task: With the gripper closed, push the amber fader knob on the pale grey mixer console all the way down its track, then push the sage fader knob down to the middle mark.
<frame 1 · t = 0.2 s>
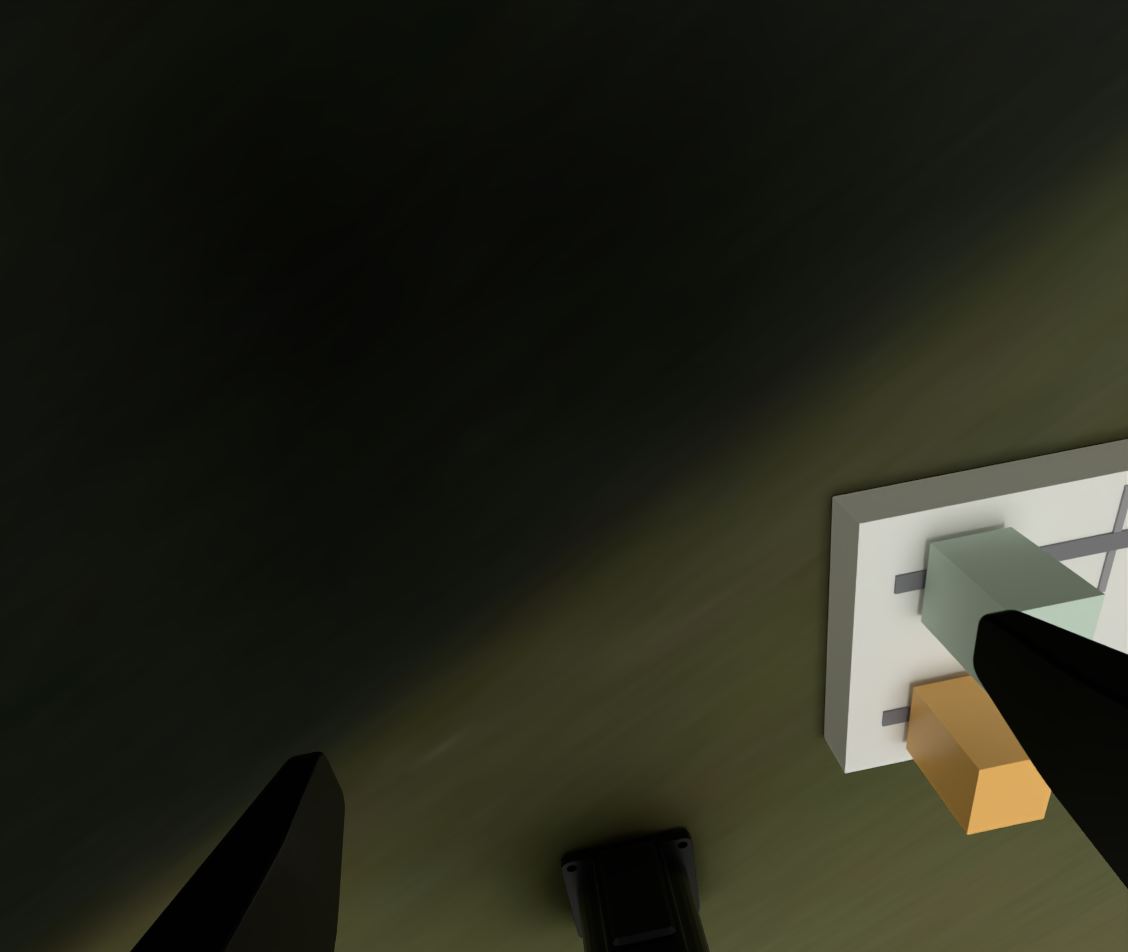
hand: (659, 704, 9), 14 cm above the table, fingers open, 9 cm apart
amber fader: (976, 750, 26), point 4 cm above the table, slide at 6.0 cm
sage fader: (1002, 609, 23), point 4 cm above the table, slide at 6.0 cm
mixer console: (1055, 583, 28), on the table
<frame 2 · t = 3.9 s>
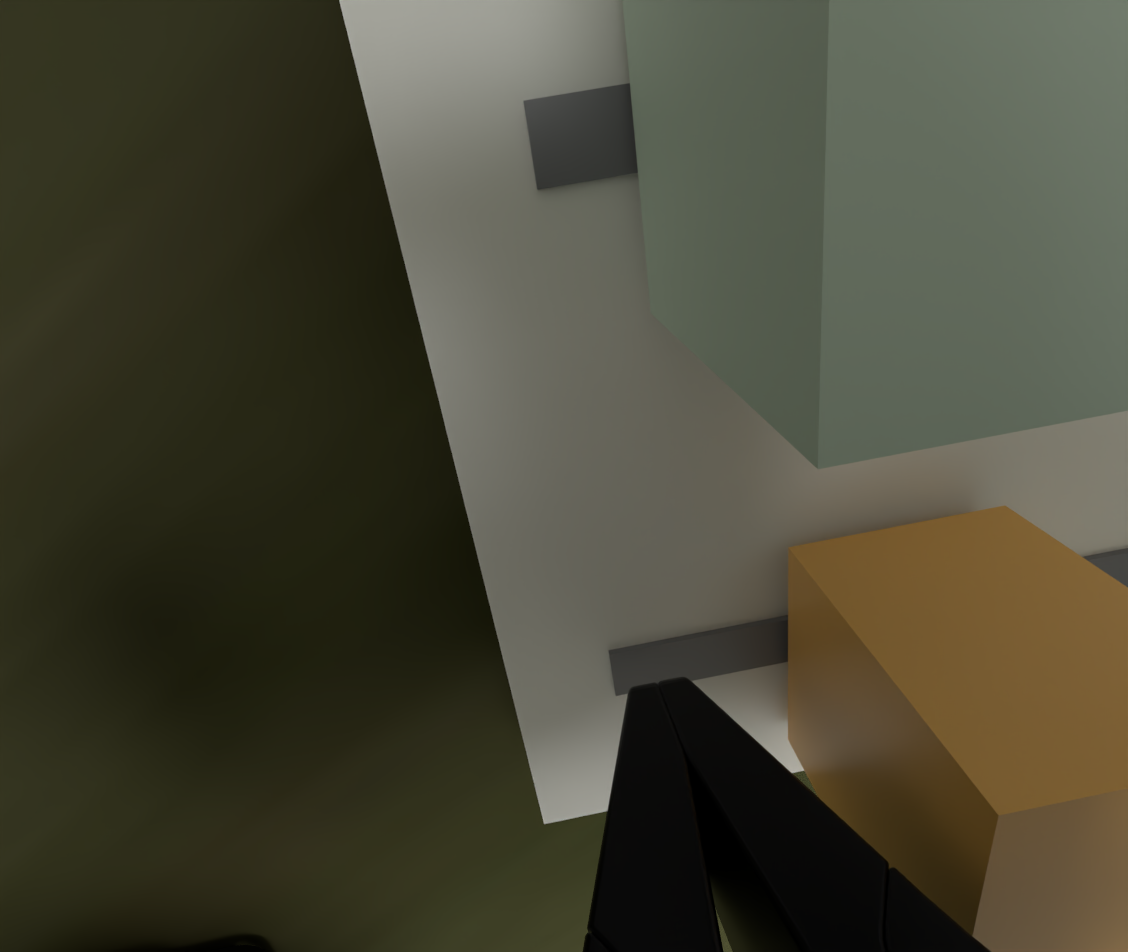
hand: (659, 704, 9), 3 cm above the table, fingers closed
amber fader: (980, 739, 8), point 4 cm above the table, slide at 4.4 cm, touching gripper
sage fader: (899, 85, 5), point 4 cm above the table, slide at 6.0 cm
mixer console: (1098, 305, 10), on the table
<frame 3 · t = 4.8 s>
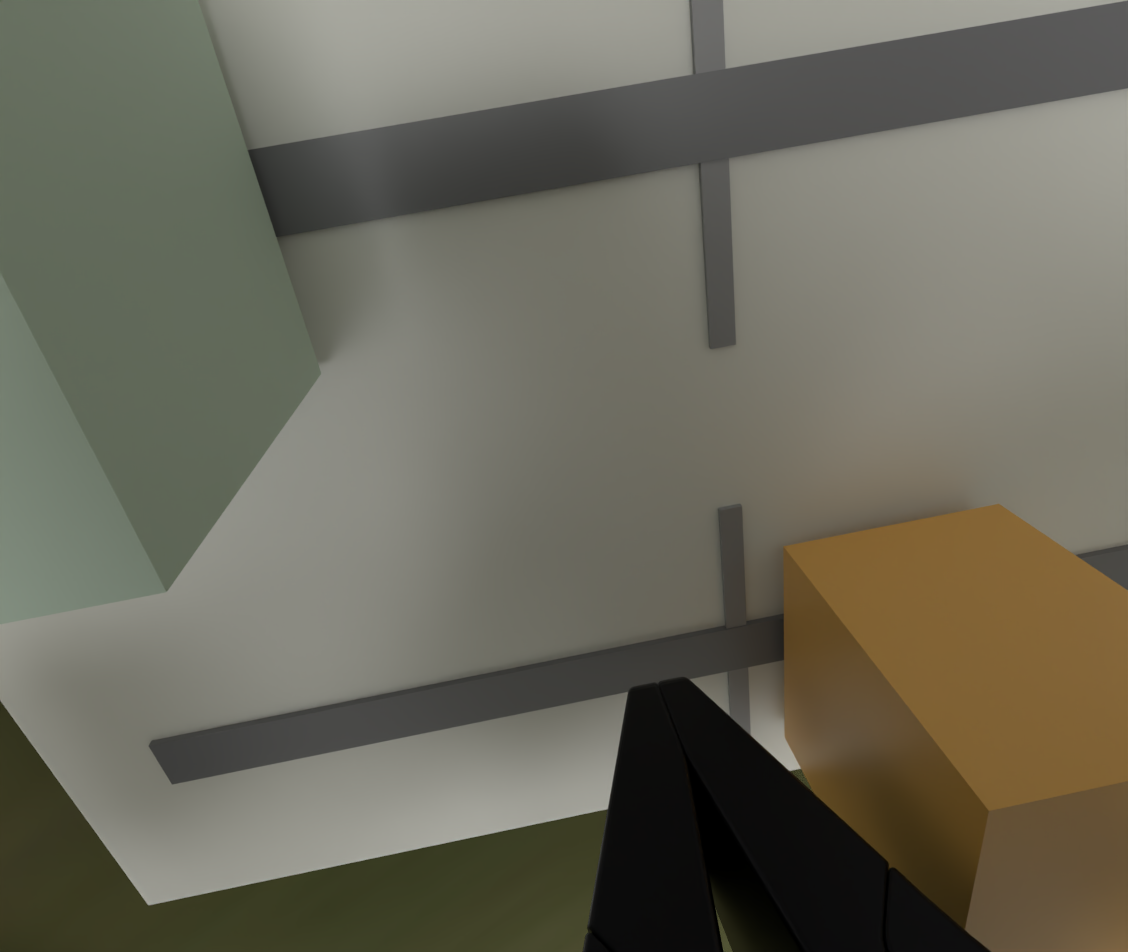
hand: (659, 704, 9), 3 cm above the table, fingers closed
amber fader: (974, 736, 8), point 4 cm above the table, slide at -2.1 cm, touching gripper
mixer console: (681, 381, 10), on the table
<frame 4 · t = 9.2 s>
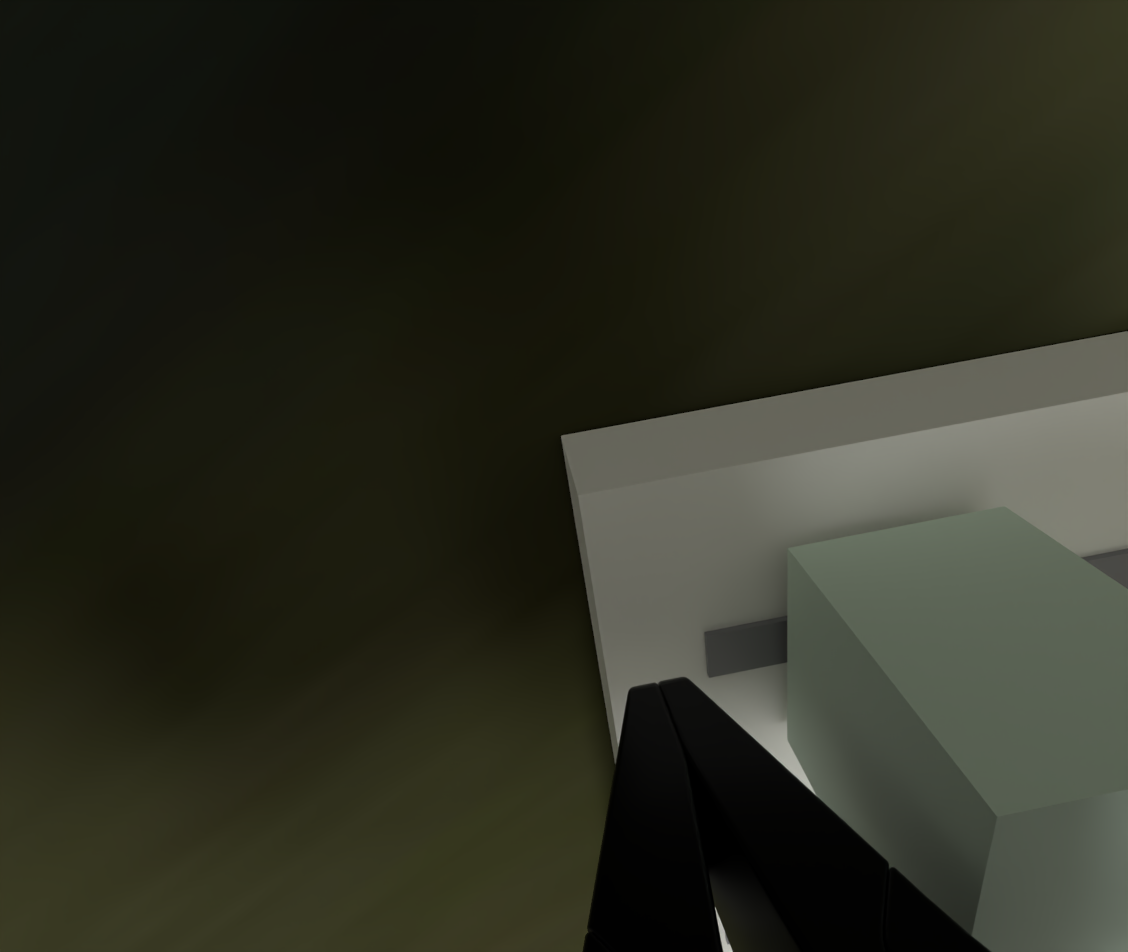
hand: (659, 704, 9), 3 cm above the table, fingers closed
sage fader: (979, 740, 8), point 4 cm above the table, slide at 5.9 cm, touching gripper
mixer console: (1093, 637, 14), on the table
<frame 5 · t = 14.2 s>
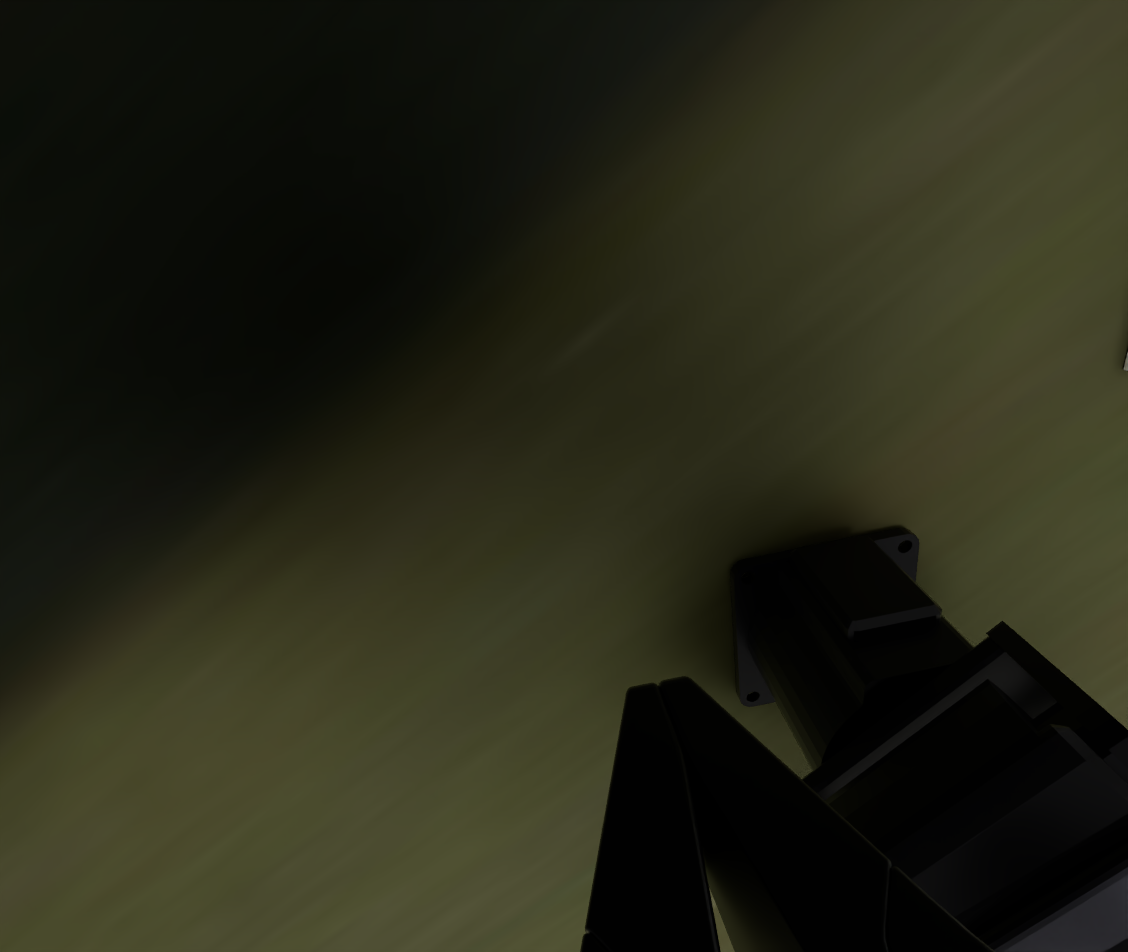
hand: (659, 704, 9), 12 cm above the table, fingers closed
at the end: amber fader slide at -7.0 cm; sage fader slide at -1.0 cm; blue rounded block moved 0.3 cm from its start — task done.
